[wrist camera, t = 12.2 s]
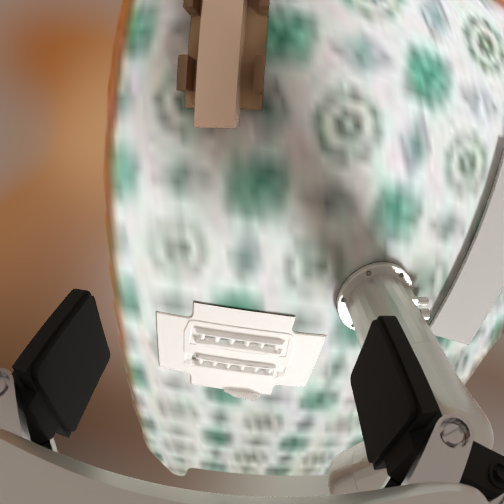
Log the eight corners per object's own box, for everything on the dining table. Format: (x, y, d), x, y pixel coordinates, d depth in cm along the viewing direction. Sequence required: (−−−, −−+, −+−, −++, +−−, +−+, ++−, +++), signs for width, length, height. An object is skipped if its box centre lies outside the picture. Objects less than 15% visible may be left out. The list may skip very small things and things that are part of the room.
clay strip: (251, -36, 23) (249, -58, 18) (238, 125, 33) (234, 128, 28) (218, -36, 23) (210, -57, 18) (204, 124, 33) (193, 127, 28)
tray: (156, 292, 46) (150, 306, 43) (330, 312, 48) (335, 327, 45) (161, 374, 56) (158, 388, 52) (300, 389, 57) (302, 403, 54)
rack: (270, -21, 25) (271, -37, 21) (261, 109, 33) (261, 110, 29) (197, -21, 25) (188, -36, 21) (186, 107, 33) (175, 108, 29)
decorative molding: (423, 317, 50) (462, 330, 48) (427, 332, 46) (468, 344, 44) (494, 145, 35) (533, 169, 33) (506, 148, 31) (547, 174, 29)
